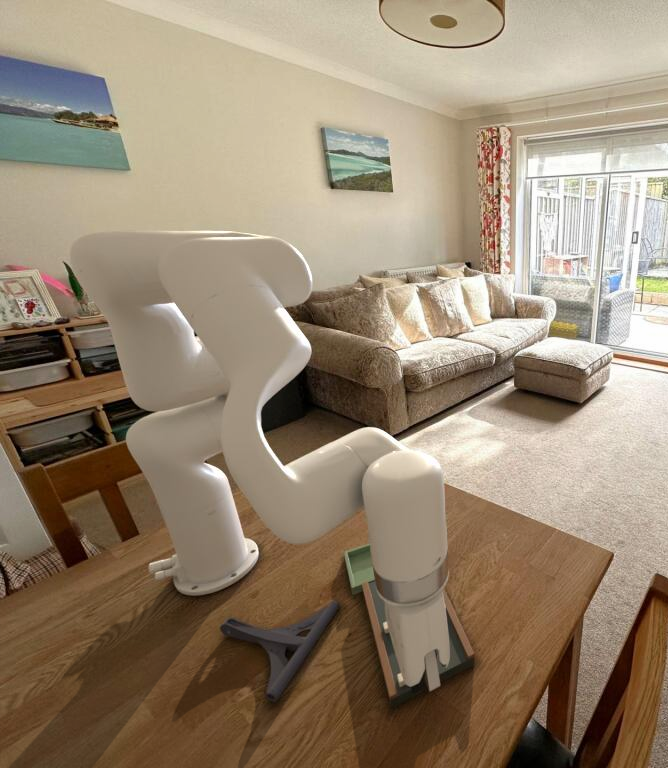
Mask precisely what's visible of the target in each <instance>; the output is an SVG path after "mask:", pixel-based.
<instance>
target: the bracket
mask: <svg viewBox="0 0 668 768" xmlns="http://www.w3.org/2000/svg"><path fill="white" fill-rule="evenodd" d="M340 606H341V604H340V603H339V602H338V601H337V600H331V601H330V602H329V604H328V605H326V606H324V607H323V608H321V609H320V610H318V611H317V612H316V613H314V614H313V615H311V616H309V617H307V618H306V619H303V620H301V621H298V622H296V623H294V624H290V625H288V626H287V625H286V626H283V627H277V628H266V629H265V628H261V627H258V626H255V625H252V624H250V623H247V622H244V621H242V620H239V619H237V618H236V617H233V616H230V617H228V618H227V619H225V621H224V622H223V623H222V624H221V625H220V627H219V630H220V632H221V633H222V634H223V635H224V636H226V637H229V638H233V639H237V640H242V641H245V642H250V643H255V644H258V645H259V646H261V647H262V648H263V649H264V650H265V652H266V654H267V655H268V657H269V662H270V675H269V679H268V683H267V688H266V691H265V693H266V694H265V698H266V699H267V700H268V702H272V703H275V702H277V701H278V700H279V698H280V696H281V695H282V694H283V692H284V690H286V688H287V686H288V685H289V683H290V681H292V678H293V677H294V676H295V674H296V673H297V671H298V670H299V668H300V667H301V665H302V664H303V663H304V661H305V660H306V658H307V656H308V655H309V653H310V651H312V649H313V647H314V646H315V644H316V643H317V641H318V640H319V638H320V637H321V635H322V634H323V632H324V631H325V630H326V628H327V626H328V624H329V623H330V622H331V620H332V619H333V618H334V616H335V614H336V613H337V611H338V610H339V609H340ZM308 631H309V632H308ZM305 632H308V634H307V635H306V636H299V635H300V634H302V633H305ZM286 651H290V652H294V654H292V657H290V659H288V658H287V657H286Z"/></svg>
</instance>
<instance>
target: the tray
mask: <svg viewBox="0 0 668 768" xmlns="http://www.w3.org/2000/svg"><path fill="white" fill-rule="evenodd" d="M343 557H344V561H345V568H346V571H347V575H348V581H349V586H350V589H351V594H352V595H353V596H355V595H357V594H359V593H363V590H362V583H364V582H367V581H368V584H369V583H372V582H374V581H375V577H374V571H373V564H372V556H371V550H370V543H367V544H363V545H360V546H357V547H353V548H350V549H348V550H345V551H343Z"/></svg>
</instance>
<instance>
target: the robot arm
mask: <svg viewBox="0 0 668 768" xmlns="http://www.w3.org/2000/svg"><path fill="white" fill-rule="evenodd" d="M69 257H70V265H71V270H72V272H73V274H74V276H75V278H76V280H77V282H78V284H79V285H80V287H81V288H82V290H83V292H84V293H85V294H86V296H87V297H88V298H89V299H90V300H91V301H92V303H94V305H95V306H96V308H97V309H98V310H99V311H100V312H101V313H102V315H103V317H104V318H105V320H106V321H107V324H108V326H109V330H110V332H111V336H112V341H113V344H114V348H115V352H116V355H117V358H118V362H119V366H120V370H121V373H122V377H123V380H124V384H125V387H126V390H127V393H128V394H129V397H130V399H131V400H132V401H133V403H134V404H135V405H136V406H137V407H139V408H140V409H143V410H145V411H147V412H152V413H150V414H148V415H146V416H143V417H142V418H140V419H138V420H137V421H135V422H134V423H133V424H132V425H130V427H129V428H128V430H127V431H126V435H125V443H126V446H127V449H128V451H129V453H130V454H131V456H132V458H133V459H134V461H135V463H136V464H137V466H138V467H139V469H140V470H141V472H142V474H143V475H144V477H145V479H146V481H147V482H148V485H149V486H150V488H151V490H152V494H153V495H154V498H155V500H156V503H157V506H158V508H159V511H160V513H161V516H162V518H163V521H164V524H165V527H166V530H167V532H168V535H169V537H170V541H171V543H172V545H173V548H174V552H175V554H173V555H172V556H171V557H169V558H166V559H161V560H157V561H153V562H150V563H149V564H148V572H149V574H150V575H151V576H152V575H154V580H155V581H156V582H159V581H162V580H165V579H167V578H170V577H171V578H172V577H173V584H174V588H175V589H176V590H177V591H178V592H179V593H181V594H183V595H186V596H195V597H196V596H204V595H208V594H212V593H216V592H219V591H221V590H224V589H225V588H228V587H229V586H231V585H233V584H236V582H239V580H241V579H243V577H245V576H246V575H247V574H248V573H249V572H250V571H251V570H252V569H253V568H254V566H255V565H256V563H257V561H258V559H259V554H260V552H259V547H258V545H257V543H256V542H255V541H254V540H252V539H250V538H247V537H245V535H244V531H243V528H242V524H241V521H240V518H239V517H240V516H239V514H238V510H237V506H236V503H235V499H234V496H233V493H232V489H231V485H230V482H229V479H228V477H227V475H226V474H225V473H224V471H222V470H221V469H220V468H218V467H216V466H214V465H212V464H209V463H206V461H207V460H209V459H210V458H213V457H215V456H216V455H219V454H221V453H222V454H223V458H224V462H225V464H226V467H227V469H228V472H229V474H230V475H231V477H232V479H233V481H234V482H235V485H236V486H237V487H238V489H239V490H240V491H241V492H242V494H243V496H244V497H245V498H246V500H247V501H248V503H249V505H250V506H251V507H252V509H253V510H254V512H255V513H256V515H257V516H258V517H259V518H260V520H261V521H262V522H263V524H264V525H265V526H266V527H267V529H269V531H270V533H272V534H273V535H275V536H276V537H277V538H278V539H280V540H282V541H284V542H285V543H287V544H291V545H306V544H310V543H312V542H314V541H317V540H319V539H320V538H322V537H324V536H325V535H327V534H328V533H330V532H331V531H333V530H334V529H335V528H337V527H338V526H340V525H341V524H343V523H344V522H346V520H348V519H349V518H351V517H352V516H354V515H355V514H357V513H358V512H360V510H362V509H363V508H364V515H365V523H366V528H367V535H368V542H369V543H370V550H371V556H372V564H373V571H374V577H375V584H376V590H377V593H378V595H379V596H380V598H381V599H382V600H383V601H384V602H385V613H386V620H387V625H388V629H389V633H390V636H391V640H392V643H393V647H394V650H395V654H396V657H397V661H398V664H399V668H400V671H401V674H402V677H403V680H404V682H405V684H406V685H408V686H410V687H411V691H412V694H415V693H417V692H419V691H424V690H426V689H428V690H426V691H428V692H429V693H431V692H433V691H435V690H436V689H438V688H440V687H441V686H442V685H441V683H440V678H439V672H438V665H437V658H439V660H440V662H441V665H442V667H445V669H446V668H447V666H448V664H449V660H450V646H449V635H448V625H447V617H446V609H445V608H446V606H445V602H444V596H443V588H444V589H445V587H446V585H447V583H448V580H449V578H450V577H449V576H450V567H449V566H450V565H449V564H450V563H449V549H448V548H449V547H448V531H447V530H448V528H447V527H448V526H447V511H446V494H445V492H446V491H445V477H444V472H443V468H442V466H441V464H440V463H439V461H438V460H437V459H436V458H434V457H433V455H430V454H428V453H425V452H422V451H417V450H411V449H409V448H408V447H406V446H405V445H404V444H402V443H401V442H400V441H398V440H397V439H396V438H394V437H393V436H392V435H391V434H389V433H387V432H386V431H384V430H382V429H381V428H377V427H374V426H367V427H362V428H358V429H355V430H354V431H352V432H349V433H347V434H346V435H344V436H342V437H339V438H338V439H336V440H333V441H331V442H329V443H326V444H325V445H322V446H321V447H318V448H317V449H314V450H313V451H311V452H308V453H307V454H305V455H302V456H301V457H299V458H297V459H295V460H293V461H290V462H289V463H287V464H285V465H283V464H282V462H281V461H280V459H279V458H278V456H277V455H276V454H275V452H274V451H273V450H272V448H271V447H270V445H269V443H268V441H267V439H266V437H265V434H264V431H263V428H262V410H263V407H264V406H265V404H266V403H267V402H268V401H270V399H272V397H274V396H275V395H276V394H277V393H278V392H279V391H281V390H282V388H284V387H286V386H287V385H288V384H289V383H290V382H291V381H293V380H294V379H295V378H296V377H297V376H298V375H299V374H300V373H301V372H302V371H303V370H304V368H305V367H306V366H307V364H308V363H309V362H310V360H311V356H312V353H313V352H312V346H311V343H310V341H309V339H308V338H307V337H306V336H305V334H304V333H303V332H302V330H301V329H300V327H299V326H298V325H297V323H296V322H295V321H294V319H293V318H292V317H291V315H290V314H289V312H288V311H287V310H286V308H291V307H296V306H299V305H302V304H303V303H305V302H307V300H309V298H310V296H311V294H312V291H313V276H312V271H311V269H310V266H309V264H308V263H307V261H306V259H305V258H304V256H303V254H302V253H301V252H300V251H299V250H298V249H297V248H296V247H295V246H293V245H292V244H291V243H289V242H288V241H286V240H284V239H283V238H280V237H276V236H271V235H269V236H268V235H261V234H253V233H248V232H239V231H229V230H164V229H163V230H161V229H160V230H159V229H157V230H154V229H151V230H150V229H149V230H148V229H147V230H145V229H144V230H141V229H139V230H138V229H136V230H111V231H99V232H93V233H88V234H85V235H82V236H80V237H78V238H77V239H76V240H75V241H74V242H73V243H72V244H71V247H70V251H69ZM195 335H196V336H195ZM369 543H368V544H369ZM424 692H425V691H424Z"/></svg>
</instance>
